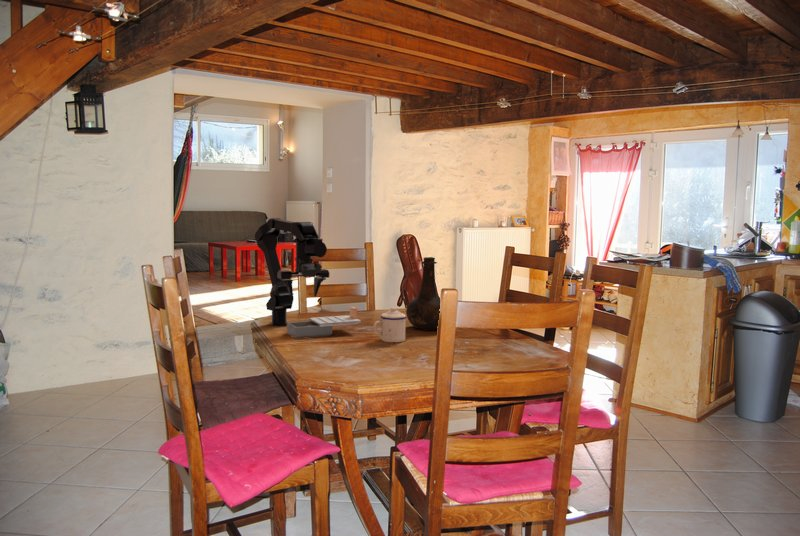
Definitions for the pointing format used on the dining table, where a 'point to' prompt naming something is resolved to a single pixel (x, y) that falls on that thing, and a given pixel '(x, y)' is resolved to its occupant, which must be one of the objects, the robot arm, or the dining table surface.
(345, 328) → the dining table surface
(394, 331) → the teacup with lid
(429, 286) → the glass bottle
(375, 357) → the dining table surface
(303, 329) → the tub
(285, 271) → the robot arm
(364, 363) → the dining table surface
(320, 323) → the lid
